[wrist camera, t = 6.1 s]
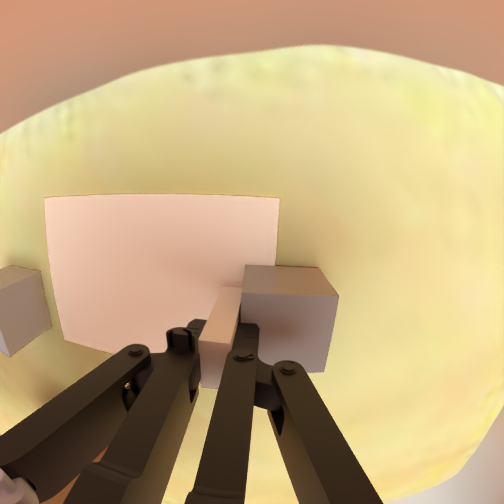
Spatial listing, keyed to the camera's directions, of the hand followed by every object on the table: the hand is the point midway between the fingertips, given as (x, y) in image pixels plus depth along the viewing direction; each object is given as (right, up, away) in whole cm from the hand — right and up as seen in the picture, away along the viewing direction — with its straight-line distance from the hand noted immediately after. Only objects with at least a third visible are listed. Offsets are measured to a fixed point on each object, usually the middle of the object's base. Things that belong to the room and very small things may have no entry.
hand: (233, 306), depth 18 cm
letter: (-7, +1, +2) cm, 8 cm away
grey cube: (+3, 0, +2) cm, 3 cm away
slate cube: (-22, -1, +4) cm, 23 cm away
